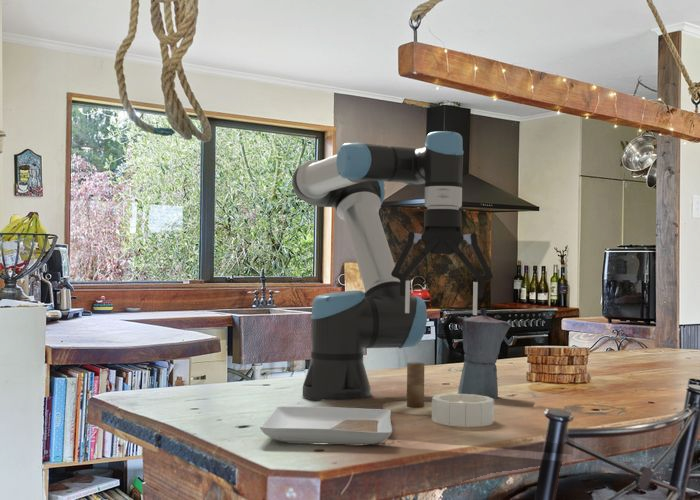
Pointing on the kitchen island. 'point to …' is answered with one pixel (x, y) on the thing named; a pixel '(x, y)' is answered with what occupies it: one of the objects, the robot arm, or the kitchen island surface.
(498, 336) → the moka pot
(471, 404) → the bowl
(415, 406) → the lid
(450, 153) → the robot arm
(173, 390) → the kitchen island surface
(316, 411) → the salad plate
